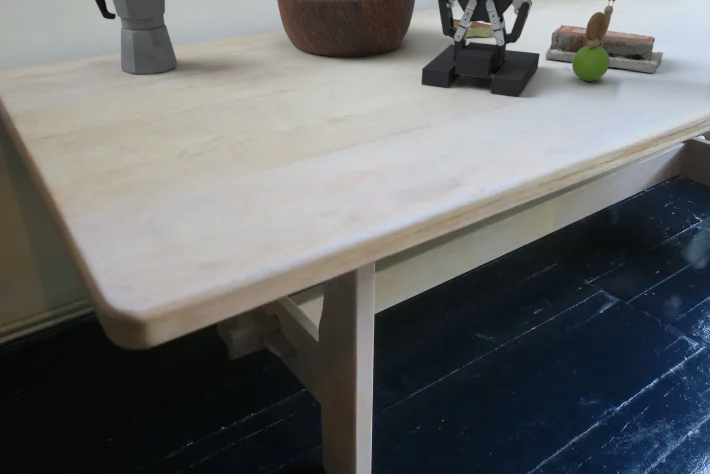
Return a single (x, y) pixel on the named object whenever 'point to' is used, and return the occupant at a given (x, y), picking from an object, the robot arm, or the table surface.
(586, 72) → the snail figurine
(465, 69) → the pad piece
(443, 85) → the base pad
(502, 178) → the table surface
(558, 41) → the weathered brick
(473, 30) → the pie slice
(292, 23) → the wooden bowl
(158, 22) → the coffeepot
